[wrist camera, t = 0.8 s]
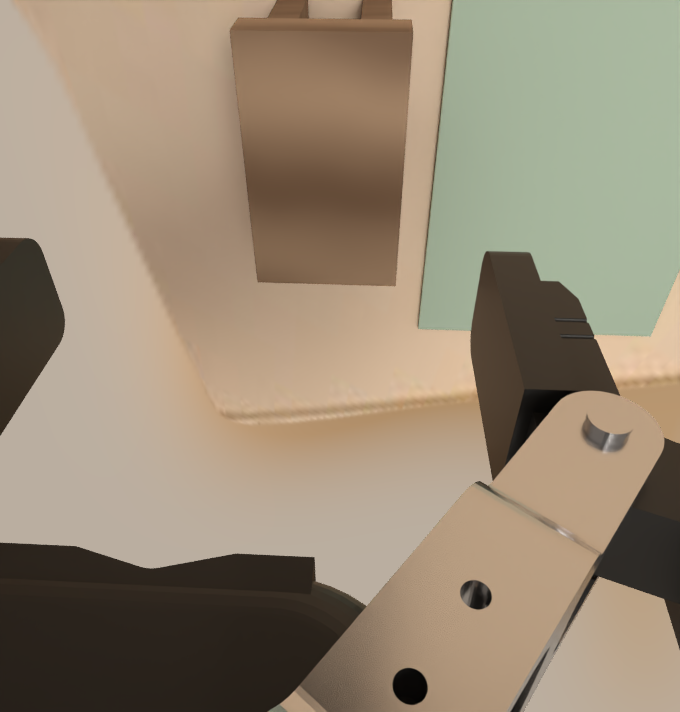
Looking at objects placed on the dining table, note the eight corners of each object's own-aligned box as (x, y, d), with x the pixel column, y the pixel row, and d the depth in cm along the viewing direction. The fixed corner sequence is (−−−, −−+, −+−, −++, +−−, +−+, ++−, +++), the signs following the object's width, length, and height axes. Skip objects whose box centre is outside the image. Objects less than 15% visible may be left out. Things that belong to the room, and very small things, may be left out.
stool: (265, -21, 26) (229, 30, 20) (406, -20, 26) (413, 32, 20) (280, 195, 33) (257, 282, 27) (393, 198, 33) (395, 286, 27)
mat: (458, -62, 25) (459, -61, 24) (817, -60, 24) (822, -59, 24) (418, 324, 38) (418, 329, 38) (648, 332, 37) (650, 336, 37)
